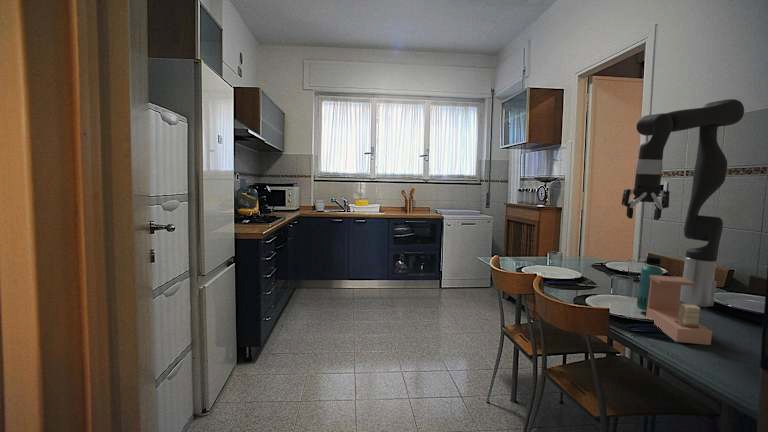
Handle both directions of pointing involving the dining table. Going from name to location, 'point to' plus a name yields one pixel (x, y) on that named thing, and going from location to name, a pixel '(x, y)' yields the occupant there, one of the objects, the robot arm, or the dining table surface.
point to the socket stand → (672, 310)
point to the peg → (688, 315)
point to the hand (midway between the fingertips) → (643, 219)
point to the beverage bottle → (647, 281)
